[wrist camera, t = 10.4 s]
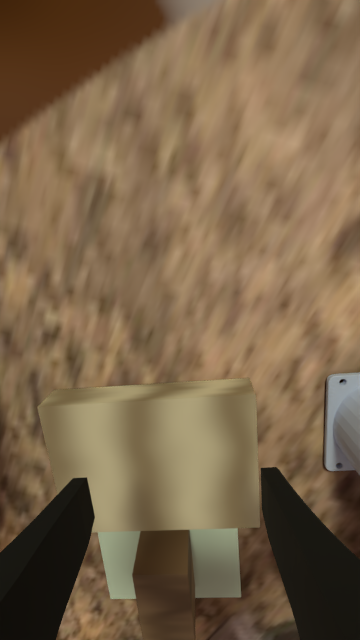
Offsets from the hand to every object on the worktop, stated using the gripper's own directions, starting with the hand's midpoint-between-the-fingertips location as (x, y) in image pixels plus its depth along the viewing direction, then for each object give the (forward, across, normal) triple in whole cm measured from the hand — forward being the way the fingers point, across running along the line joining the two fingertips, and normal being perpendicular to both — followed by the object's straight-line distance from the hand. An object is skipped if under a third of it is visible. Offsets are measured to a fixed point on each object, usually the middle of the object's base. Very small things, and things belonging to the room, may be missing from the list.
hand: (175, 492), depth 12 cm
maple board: (+10, +2, +6) cm, 12 cm away
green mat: (+10, +2, +16) cm, 20 cm away
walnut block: (+8, +2, +13) cm, 15 cm away
